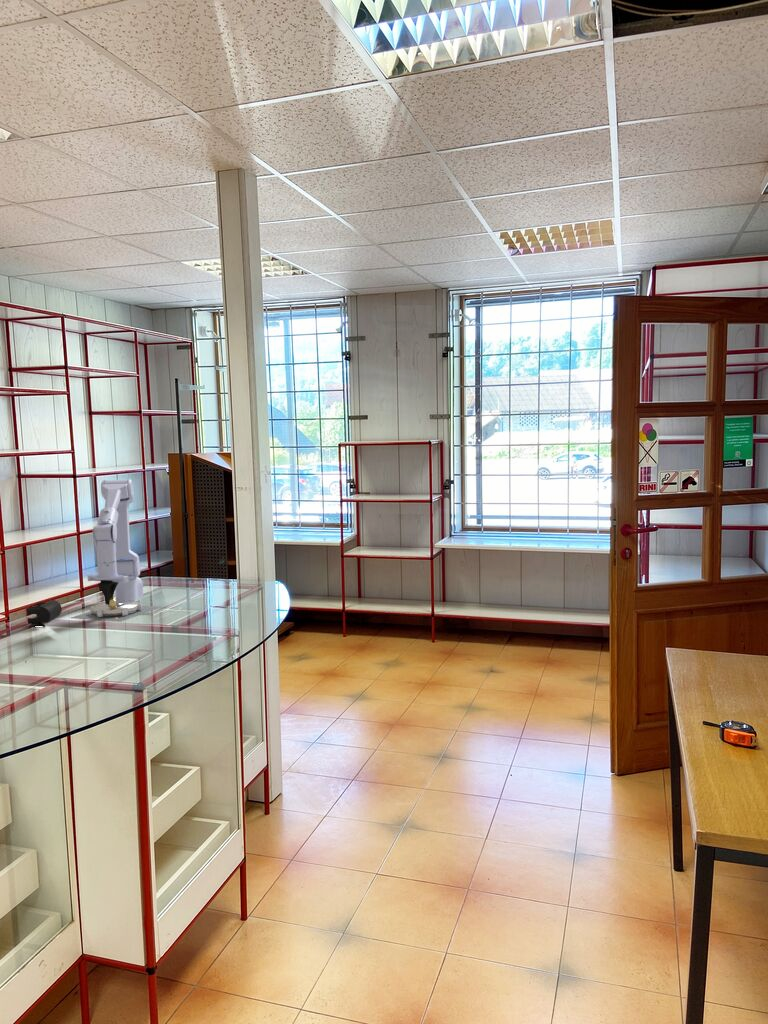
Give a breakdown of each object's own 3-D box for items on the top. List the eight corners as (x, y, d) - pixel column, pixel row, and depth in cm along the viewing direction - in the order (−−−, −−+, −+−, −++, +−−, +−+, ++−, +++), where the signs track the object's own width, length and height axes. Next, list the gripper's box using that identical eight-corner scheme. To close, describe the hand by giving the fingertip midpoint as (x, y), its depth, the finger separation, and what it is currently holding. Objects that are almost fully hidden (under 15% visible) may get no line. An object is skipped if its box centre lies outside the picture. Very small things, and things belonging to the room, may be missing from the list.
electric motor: (51, 627, 226) (49, 606, 225) (27, 628, 225) (25, 607, 224) (62, 619, 236) (61, 599, 235) (40, 620, 235) (38, 600, 234)
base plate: (113, 608, 249) (113, 603, 249) (161, 611, 243) (161, 606, 242) (70, 622, 231) (69, 617, 231) (121, 626, 224) (120, 621, 224)
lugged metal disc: (96, 607, 242) (95, 592, 242) (144, 604, 245) (143, 589, 244) (86, 618, 228) (85, 602, 228) (137, 614, 231) (136, 598, 230)
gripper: (79, 563, 229) (82, 605, 230) (116, 564, 224) (119, 607, 225) (95, 559, 235) (98, 600, 237) (131, 561, 230) (134, 602, 232)
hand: (109, 603), depth 231 cm, fingers closed, pressing on lugged metal disc
